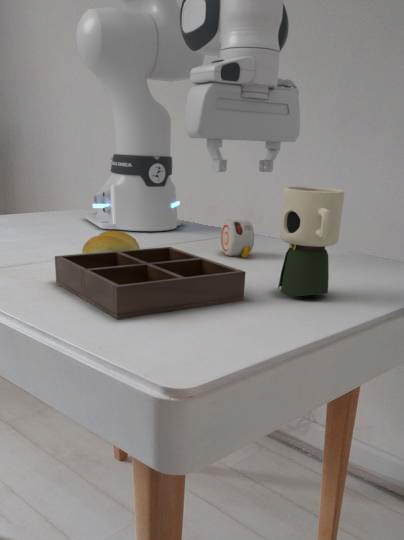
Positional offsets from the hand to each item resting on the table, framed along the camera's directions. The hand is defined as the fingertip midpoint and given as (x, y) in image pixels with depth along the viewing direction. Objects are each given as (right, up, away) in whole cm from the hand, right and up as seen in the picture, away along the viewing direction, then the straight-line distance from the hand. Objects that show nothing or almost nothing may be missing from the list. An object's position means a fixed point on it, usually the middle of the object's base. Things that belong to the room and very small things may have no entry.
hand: (243, 171), depth 89 cm
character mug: (+6, -22, -17) cm, 28 cm away
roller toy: (-1, -12, +5) cm, 14 cm away
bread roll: (-21, -14, -1) cm, 25 cm away
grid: (-13, -21, -19) cm, 31 cm away
